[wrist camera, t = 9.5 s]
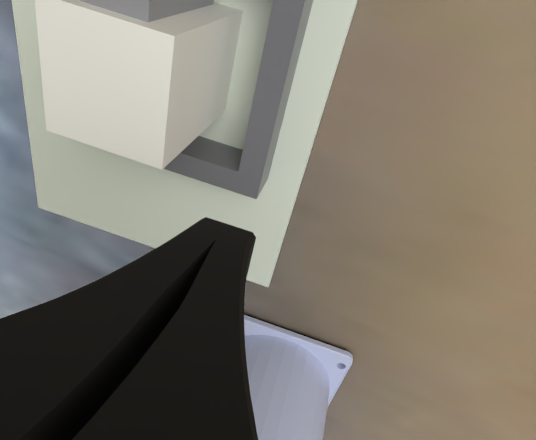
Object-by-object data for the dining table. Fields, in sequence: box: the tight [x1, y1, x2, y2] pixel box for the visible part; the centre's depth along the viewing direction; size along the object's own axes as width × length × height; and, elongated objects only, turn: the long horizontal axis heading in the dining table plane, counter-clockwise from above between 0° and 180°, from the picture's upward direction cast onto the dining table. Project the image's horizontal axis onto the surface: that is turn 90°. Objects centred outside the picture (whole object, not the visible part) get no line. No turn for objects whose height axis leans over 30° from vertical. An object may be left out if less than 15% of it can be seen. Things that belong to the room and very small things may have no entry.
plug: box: [35, 0, 243, 170], centre depth 14 cm, size 5×4×6 cm
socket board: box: [12, 0, 358, 287], centre depth 18 cm, size 16×14×2 cm
